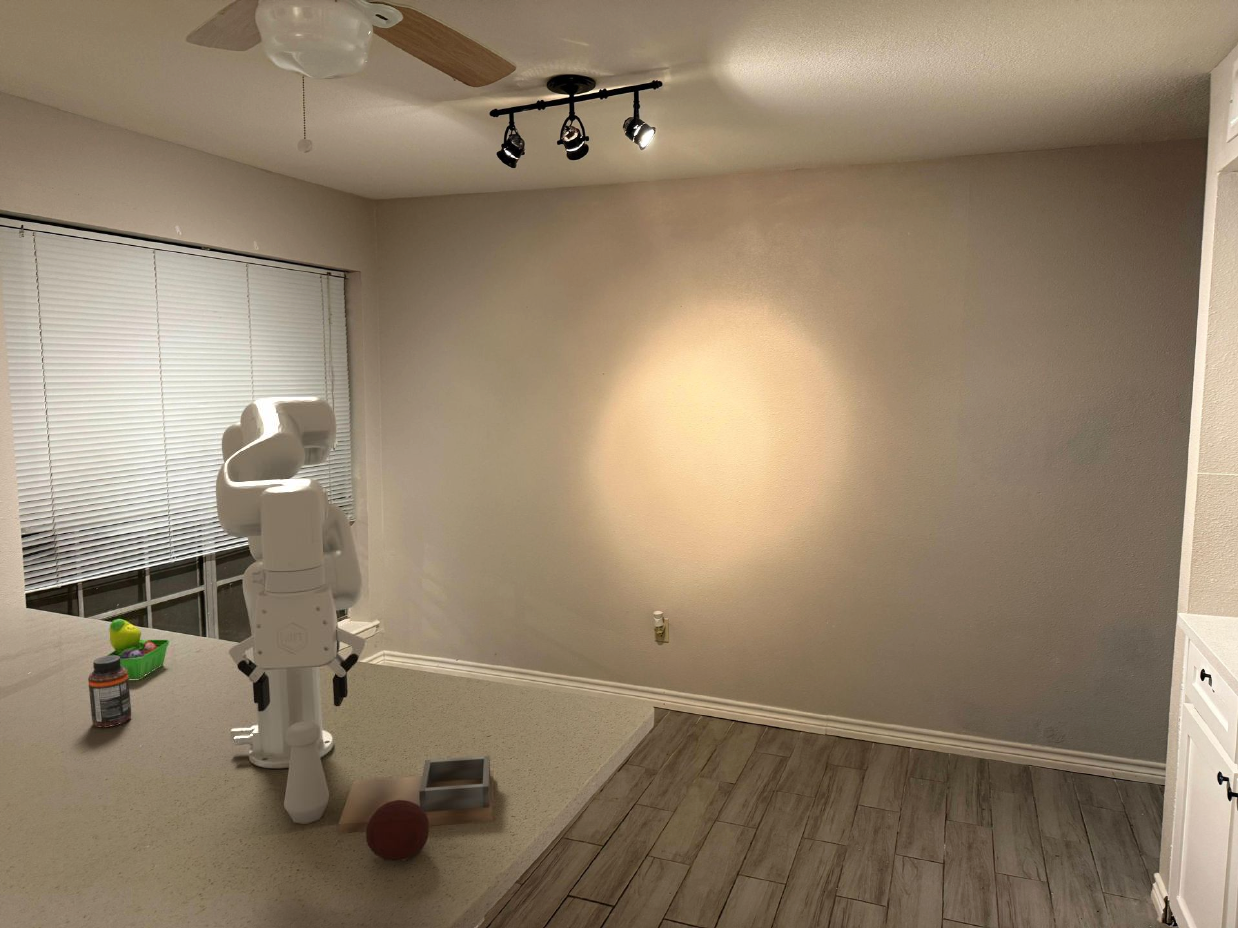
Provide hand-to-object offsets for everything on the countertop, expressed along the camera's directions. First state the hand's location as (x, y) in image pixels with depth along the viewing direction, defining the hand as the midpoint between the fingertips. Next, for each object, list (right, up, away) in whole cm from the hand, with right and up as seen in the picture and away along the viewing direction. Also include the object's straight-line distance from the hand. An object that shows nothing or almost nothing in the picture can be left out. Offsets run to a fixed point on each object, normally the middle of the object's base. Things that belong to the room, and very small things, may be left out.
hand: (301, 705), depth 115 cm
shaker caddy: (+15, -15, +5) cm, 22 cm away
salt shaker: (0, -16, +2) cm, 16 cm away
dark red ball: (+15, -17, -7) cm, 24 cm away
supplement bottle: (-46, -13, +35) cm, 59 cm away
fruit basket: (-55, -10, +58) cm, 81 cm away
